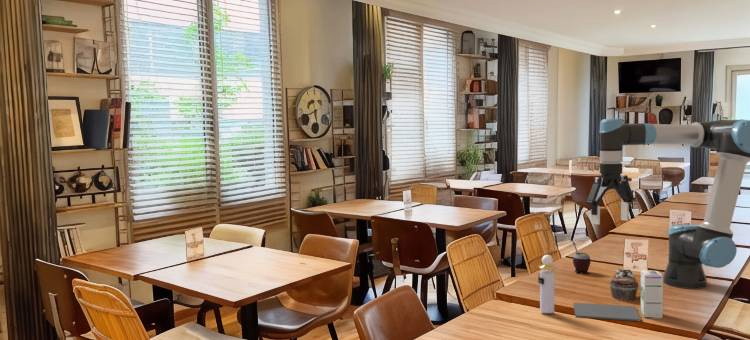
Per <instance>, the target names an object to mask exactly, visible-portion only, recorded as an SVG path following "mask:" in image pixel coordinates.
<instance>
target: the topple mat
mask: <svg viewBox="0 0 750 340" xmlns="http://www.w3.org/2000/svg"><path fill="white" fill-rule="evenodd" d="M573 304H574V305H573ZM573 304H572V305H573V311H574V316H575V318H582V319H583V318H584V319H586V318H587V319H596V320H597V319H600V320H610V321H611V320H612V321H613V320H614V321H627V322H629V321H630V322H639V321H638V320H641V321H642V318H641V316H640V315H639V312H638V310H637V308H636V306H635V305H634V306H633V305H621V304H620V305H618V304H607V303H606V304H604V303H590V302H589V303H588V302H586V303H584V302H573ZM635 320H637V321H635Z"/></svg>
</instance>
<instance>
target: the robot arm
mask: <svg viewBox="0 0 750 340" xmlns="http://www.w3.org/2000/svg"><path fill="white" fill-rule="evenodd" d="M646 145H686V146H687V145H688V146H690V147H692V148H703V149H708V150H716V153H715V154H716V155H717V157H718V163H717V168H716V172H715V175H714V179H713V183H712V187H711V191H710V195H709V198H708V203H707V206H706V210H705V214H704V218H703V222H701V223H699V224H676V225H671V226H670V227H669V231H668V263H667V264H666V265H667V266H666V267H665V270H664V273H663V274H662V275H663V283H664V284H666V285H668V286H671V287H675V288H676V287H677V288H682V289H683V288H684V289H703V288H706V287H707V286H708V282H707V281H708V279H707V276H706V274H705V270H704V267H703V265H704V266H706V267H709V268H710V267H712V268H716V269H717V268H718V269H719V268H724V267H727V265H730V264H731V263H732V262H733V260H735V257H736V256H737V251H738V249H737V248H738V247H737V246H736V243H735V241H733V237H734V232H733V231H732V229H731V224H732V222H733V221H732V220H733V216H734V213H735V209H736V205H737V202H738V201H737V200H738V197H739V194H740V189H741V185H742V182H743V178H744V174H745V171H746V166H747V164H748V163H750V119H743V118H741V119H717V120H710V121H699V122H697V121H695V122H692V123H691V124H670V123H669V124H665V123H663V124H662V123H654V124H653V123H645V122H643V123H624V120H623V119H622V118H604V119H601V120H600V123H599V161H600V164H599V174H600V177H599V176H598V177H597V176H594V177H593V184H592V186H591V189H590V191H589V194H588V197H587V199H586V204H587V205H589V206H591V209H590V210H591V211H590V212H591V215H592V220H591V221H592V224H593V225H597V226H598V225H601V220H600V219H601V206H600V205H599V204H600V202H601V201H602V199H603V198H604V196H605V195H606V193H607V192H608V191H609V190H613V189H614V190H615V191H616V193H617V194H618V195H619V198H621V200H622V201H621V202H620V221H626V222H628V221H629V214H630V213H629V211H630V204H632V203H633V201H634V200H635V195H634V193H633V191H632V188H631V185H630V183H629V177H628V175H626V174H623V163H622V162H623V161H624V159H623V155H624V153H623V149H624V147H623V146H646Z"/></svg>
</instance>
